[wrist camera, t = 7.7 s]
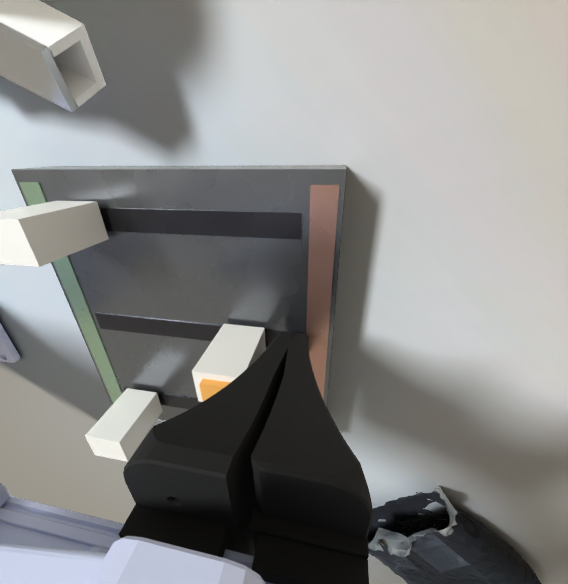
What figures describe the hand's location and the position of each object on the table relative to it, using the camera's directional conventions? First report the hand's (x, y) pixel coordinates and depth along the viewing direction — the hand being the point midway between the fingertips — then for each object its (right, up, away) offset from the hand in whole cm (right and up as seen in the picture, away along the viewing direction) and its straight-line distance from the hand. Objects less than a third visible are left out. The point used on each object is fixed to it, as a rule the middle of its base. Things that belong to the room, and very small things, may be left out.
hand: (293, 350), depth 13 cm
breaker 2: (-9, -4, +5) cm, 11 cm away
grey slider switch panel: (-5, +2, +3) cm, 6 cm away
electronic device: (+13, -18, +10) cm, 24 cm away
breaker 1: (-9, +6, -1) cm, 11 cm away
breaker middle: (-2, 0, +1) cm, 2 cm away
